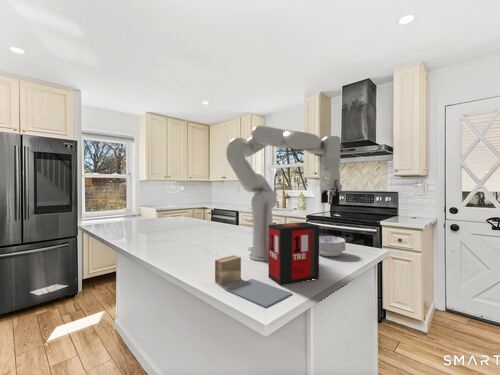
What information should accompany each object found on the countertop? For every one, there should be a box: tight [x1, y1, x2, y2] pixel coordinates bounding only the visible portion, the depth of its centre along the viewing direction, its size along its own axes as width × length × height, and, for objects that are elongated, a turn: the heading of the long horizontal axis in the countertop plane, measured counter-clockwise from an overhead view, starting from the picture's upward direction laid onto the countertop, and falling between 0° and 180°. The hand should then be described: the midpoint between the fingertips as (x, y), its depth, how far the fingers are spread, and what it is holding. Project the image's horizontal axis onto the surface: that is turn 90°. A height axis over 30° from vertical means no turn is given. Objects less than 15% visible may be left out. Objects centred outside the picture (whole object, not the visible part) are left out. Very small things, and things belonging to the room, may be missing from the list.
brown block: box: [214, 255, 242, 286], centre depth 97 cm, size 4×9×8 cm, turn 135°
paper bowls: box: [319, 235, 347, 258], centre depth 132 cm, size 15×15×8 cm
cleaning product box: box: [268, 221, 320, 287], centre depth 99 cm, size 16×9×20 cm, turn 114°
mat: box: [224, 278, 293, 309], centre depth 86 cm, size 18×13×1 cm
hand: (329, 203), depth 115 cm, fingers open, 9 cm apart
